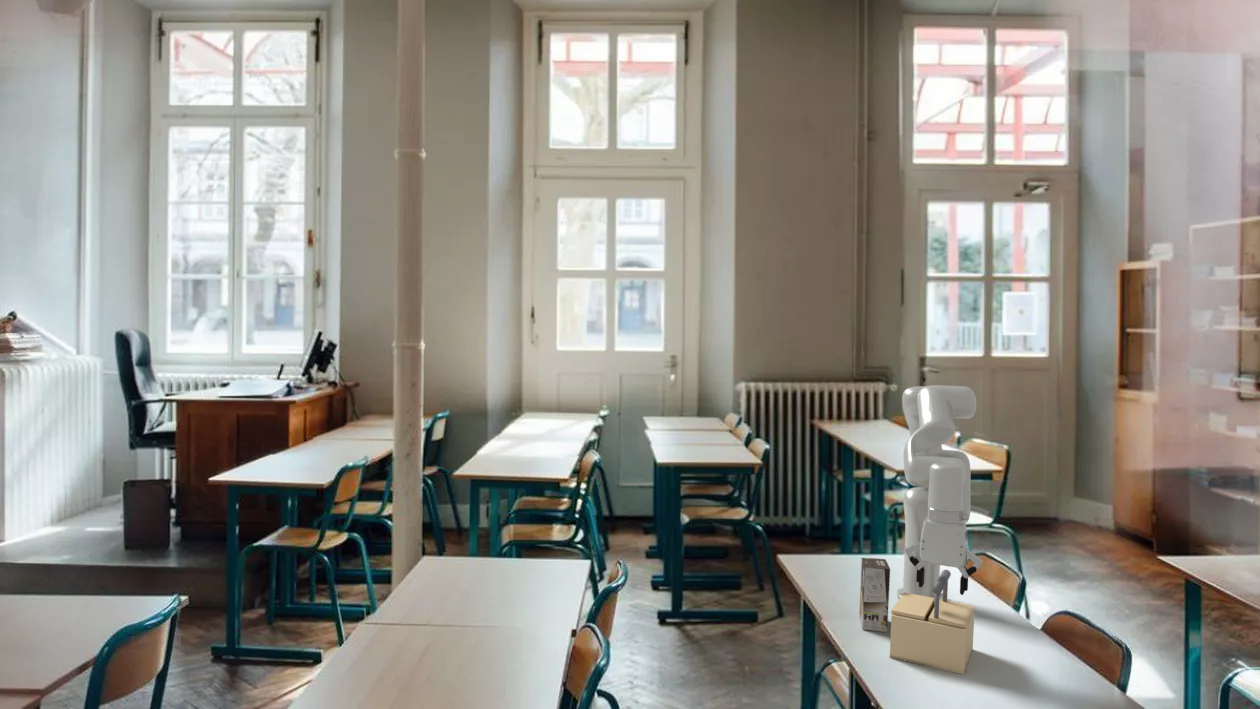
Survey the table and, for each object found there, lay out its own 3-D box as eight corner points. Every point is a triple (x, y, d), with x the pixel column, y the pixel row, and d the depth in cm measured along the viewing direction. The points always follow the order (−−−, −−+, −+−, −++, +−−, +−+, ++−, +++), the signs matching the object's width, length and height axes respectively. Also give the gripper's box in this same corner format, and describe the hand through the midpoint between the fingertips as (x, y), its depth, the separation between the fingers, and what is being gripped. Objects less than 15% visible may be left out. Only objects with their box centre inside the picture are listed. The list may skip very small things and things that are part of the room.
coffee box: (888, 632, 199) (890, 569, 198) (861, 629, 200) (864, 567, 199) (884, 619, 208) (886, 558, 207) (858, 616, 209) (861, 556, 208)
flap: (974, 608, 189) (975, 574, 188) (966, 628, 176) (968, 591, 176) (938, 602, 193) (940, 568, 192) (928, 621, 180) (930, 584, 180)
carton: (902, 634, 198) (904, 591, 197) (972, 649, 190) (974, 604, 189) (888, 657, 184) (890, 611, 183) (963, 674, 176) (966, 626, 175)
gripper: (987, 518, 183) (983, 592, 184) (909, 507, 192) (906, 578, 193) (983, 525, 177) (980, 601, 178) (902, 513, 186) (899, 586, 186)
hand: (941, 589), depth 185 cm, fingers open, 8 cm apart
